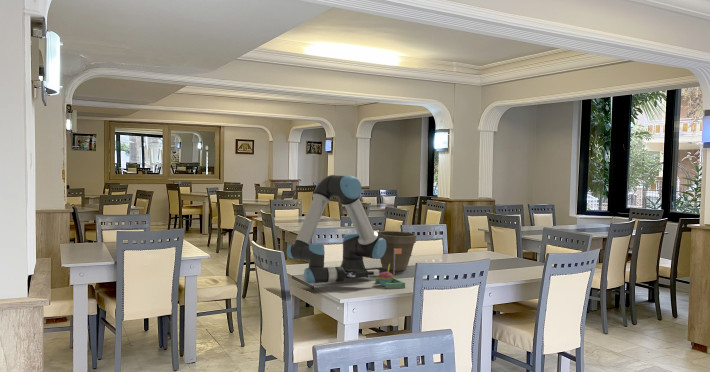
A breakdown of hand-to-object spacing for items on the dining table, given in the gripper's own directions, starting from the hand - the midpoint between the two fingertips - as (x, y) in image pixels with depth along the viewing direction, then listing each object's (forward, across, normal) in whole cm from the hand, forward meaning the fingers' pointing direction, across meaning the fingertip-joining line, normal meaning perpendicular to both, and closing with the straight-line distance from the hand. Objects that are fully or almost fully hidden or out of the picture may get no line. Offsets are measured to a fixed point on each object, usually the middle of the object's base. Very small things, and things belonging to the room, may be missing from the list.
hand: (378, 272), depth 289 cm
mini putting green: (+9, -1, -7) cm, 11 cm away
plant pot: (+29, -44, -7) cm, 53 cm away
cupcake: (+4, 0, -7) cm, 8 cm away
